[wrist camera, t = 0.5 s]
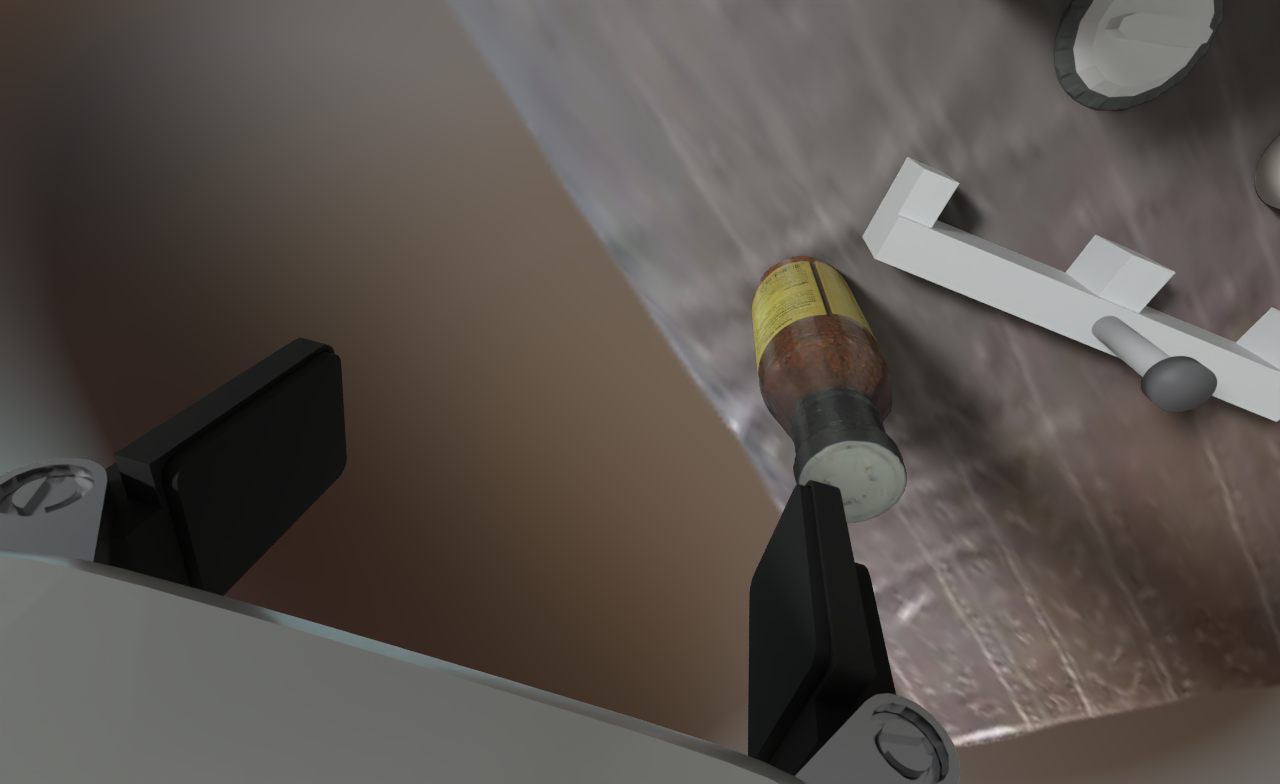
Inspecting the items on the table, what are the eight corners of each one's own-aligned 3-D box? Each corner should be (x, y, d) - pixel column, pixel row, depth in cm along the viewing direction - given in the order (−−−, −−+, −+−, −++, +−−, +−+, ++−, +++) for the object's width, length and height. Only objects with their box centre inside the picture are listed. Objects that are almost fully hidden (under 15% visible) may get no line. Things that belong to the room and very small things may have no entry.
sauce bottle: (744, 333, 41) (737, 530, 24) (761, 245, 38) (767, 402, 21) (839, 347, 41) (900, 559, 24) (865, 258, 38) (956, 432, 21)
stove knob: (1095, -69, 29) (1127, -80, 26) (1254, -47, 28) (1303, -56, 26) (1023, 98, 32) (1046, 103, 30) (1163, 121, 32) (1198, 127, 29)
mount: (907, 156, 34) (968, 200, 24) (1294, 316, 35) (1504, 420, 25) (862, 236, 37) (901, 305, 27) (1223, 383, 38) (1388, 502, 28)
